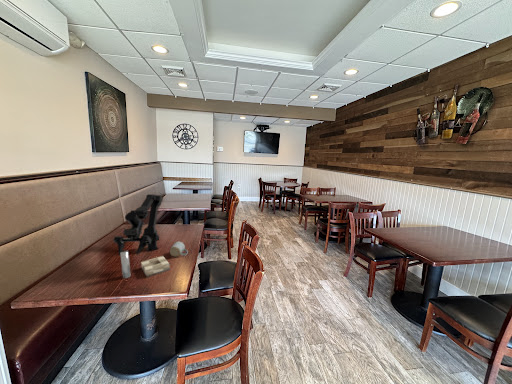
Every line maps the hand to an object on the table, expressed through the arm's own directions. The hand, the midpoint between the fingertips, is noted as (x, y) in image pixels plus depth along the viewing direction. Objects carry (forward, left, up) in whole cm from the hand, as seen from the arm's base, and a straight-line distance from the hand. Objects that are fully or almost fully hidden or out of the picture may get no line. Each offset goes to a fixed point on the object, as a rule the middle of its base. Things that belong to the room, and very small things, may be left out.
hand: (128, 254), depth 114 cm
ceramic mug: (-5, +29, -11) cm, 32 cm away
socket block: (+5, +12, -11) cm, 17 cm away
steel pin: (+3, -2, -11) cm, 11 cm away
